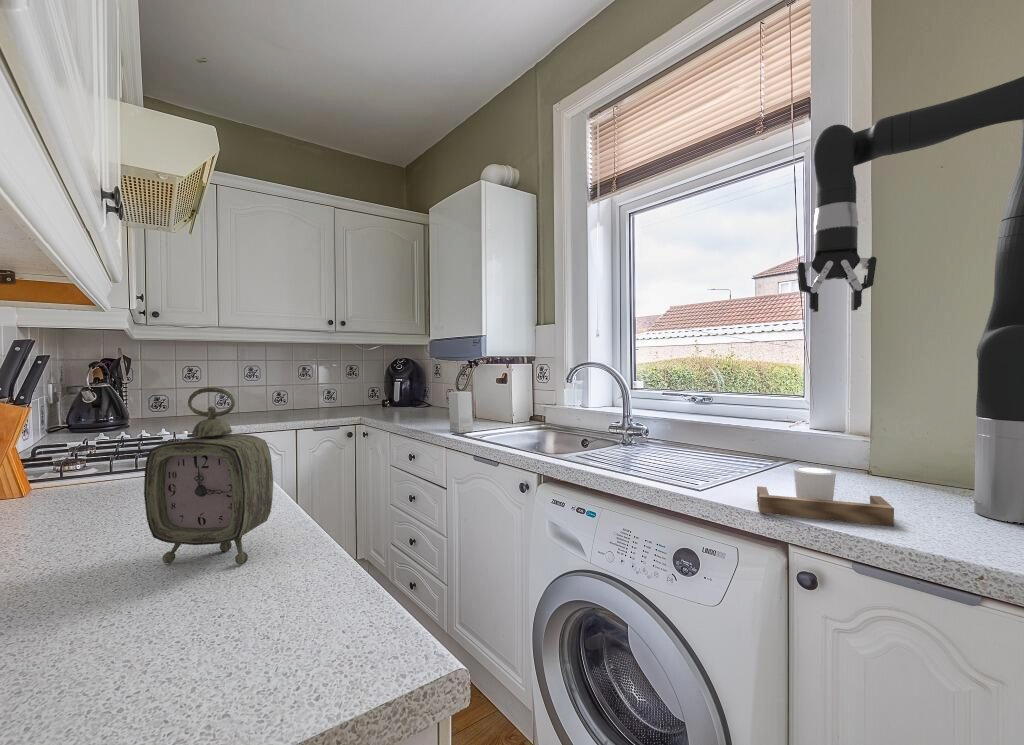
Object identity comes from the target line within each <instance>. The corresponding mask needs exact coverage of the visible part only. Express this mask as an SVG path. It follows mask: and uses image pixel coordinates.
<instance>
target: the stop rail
mask: <svg viewBox="0 0 1024 745" xmlns="http://www.w3.org/2000/svg"><path fill="white" fill-rule="evenodd" d="M756 488H757V489H756V503H757V502H758V503H757V507H758V511H759V513H760V514H766V513H768V514H769V515H776V514H779V515H780V516H786V515H787V517H796V516H797V517H798V518H808V519H818V520H827V521H828V520H829V521H837V522H838V521H839V522H846V523H847V522H848V523H849V522H850V523H858V524H867V525H877V526H888V527H894V526H895V508H894V507H893V506H892V505H891V504H890V503H889V502H888V501H887V500H885V499H884V498H883V497H882V496H880V495H879V496H878V495H869V503H866V502H865V503H863V502H851V501H843V500H842V501H841V500H833V501H831V500H820V499H808V498H797V497H796V496H795V497H794V496H786V495H785V496H783V495H772V494H771V495H770V494H769V490H768V488H767V486H759V485H757V486H756ZM768 514H767V515H768ZM779 515H778V516H779Z"/></svg>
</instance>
